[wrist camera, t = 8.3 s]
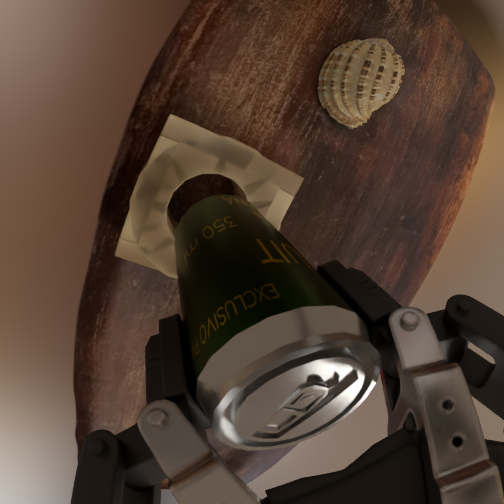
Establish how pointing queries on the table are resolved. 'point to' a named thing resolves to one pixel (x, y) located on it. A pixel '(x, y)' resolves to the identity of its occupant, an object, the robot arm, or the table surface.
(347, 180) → the table surface
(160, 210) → the socket block
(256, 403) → the guarana soda can
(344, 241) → the table surface
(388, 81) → the seashell
